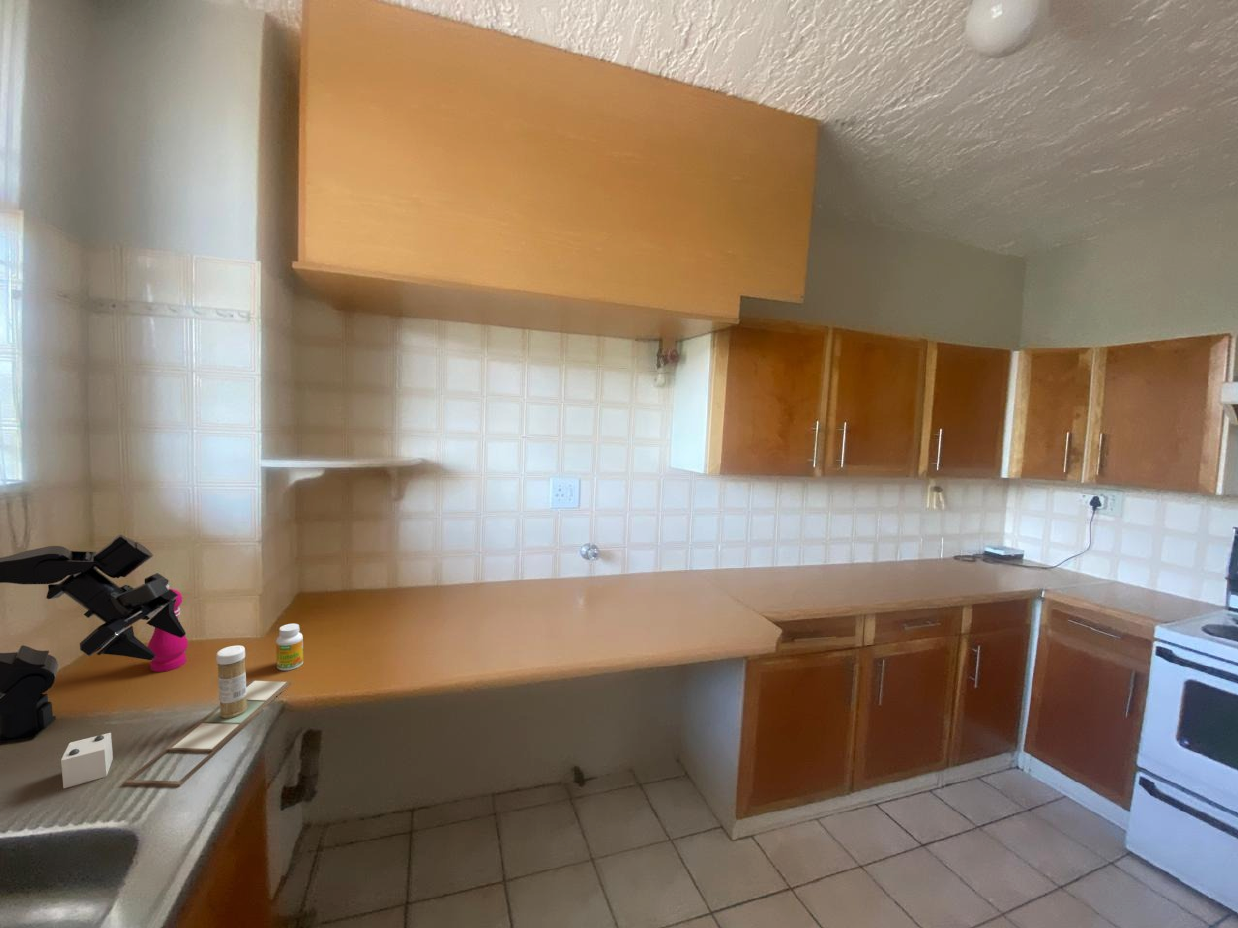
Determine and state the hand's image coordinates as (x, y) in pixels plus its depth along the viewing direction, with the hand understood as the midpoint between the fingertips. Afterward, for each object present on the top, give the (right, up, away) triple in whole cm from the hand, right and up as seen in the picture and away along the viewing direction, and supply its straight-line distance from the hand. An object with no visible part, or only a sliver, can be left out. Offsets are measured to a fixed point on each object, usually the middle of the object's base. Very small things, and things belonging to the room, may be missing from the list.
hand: (169, 646), depth 102 cm
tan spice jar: (+13, -14, 0) cm, 19 cm away
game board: (+13, -15, -3) cm, 20 cm away
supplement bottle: (+12, -12, +20) cm, 26 cm away
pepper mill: (-15, -11, +17) cm, 25 cm away
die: (+1, -16, -16) cm, 23 cm away
